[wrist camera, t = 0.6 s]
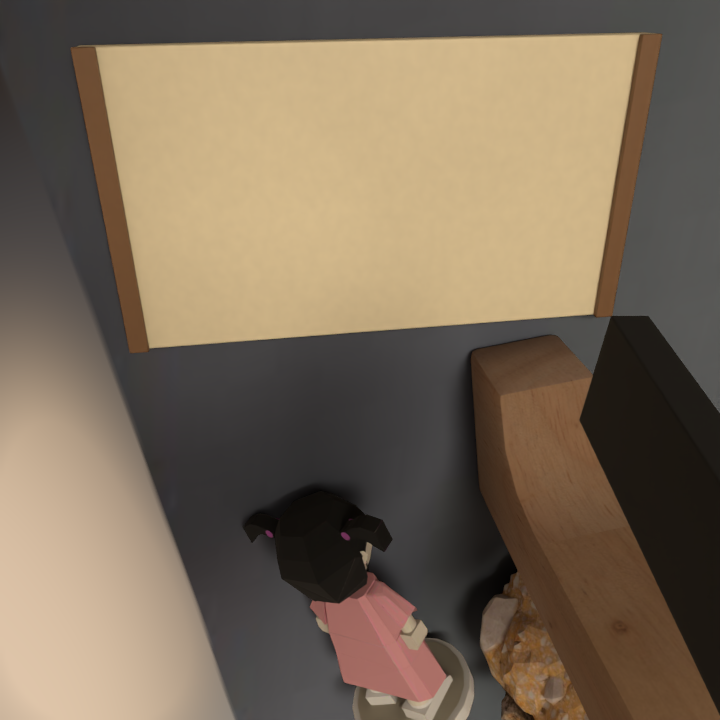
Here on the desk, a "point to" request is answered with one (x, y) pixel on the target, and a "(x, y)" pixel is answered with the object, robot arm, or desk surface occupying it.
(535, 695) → the rock
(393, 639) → the toy
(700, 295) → the desk surface
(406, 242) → the writing board
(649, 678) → the wooden block
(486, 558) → the desk surface
